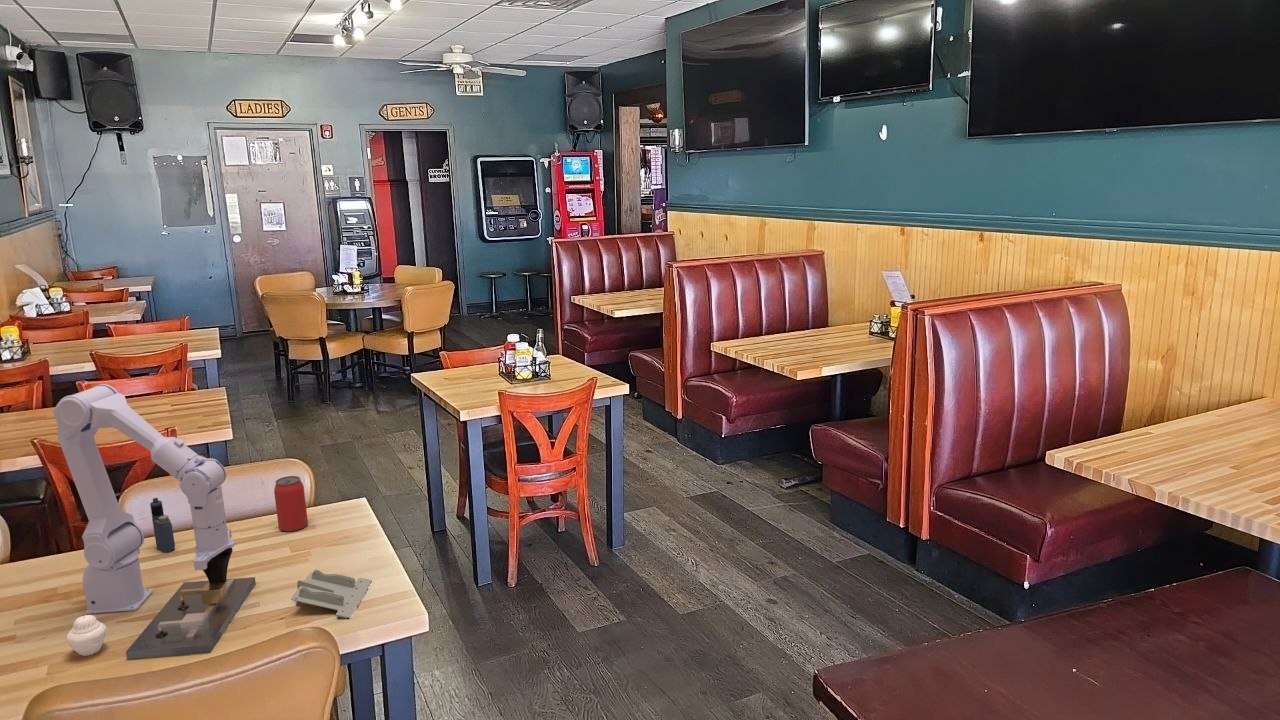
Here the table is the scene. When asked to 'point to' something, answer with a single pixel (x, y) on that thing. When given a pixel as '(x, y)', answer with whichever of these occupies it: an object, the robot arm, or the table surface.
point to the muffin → (87, 635)
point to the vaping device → (162, 527)
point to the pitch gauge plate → (195, 607)
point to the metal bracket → (331, 592)
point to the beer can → (290, 503)
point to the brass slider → (208, 593)
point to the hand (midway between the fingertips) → (219, 587)
